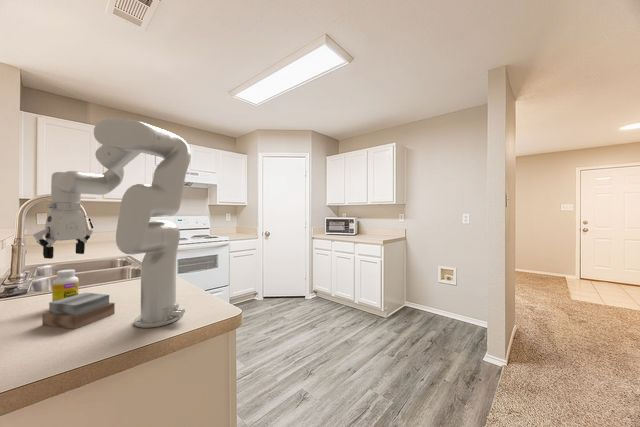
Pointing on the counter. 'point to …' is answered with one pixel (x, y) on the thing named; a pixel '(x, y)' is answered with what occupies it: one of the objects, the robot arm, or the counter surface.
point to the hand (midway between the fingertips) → (65, 255)
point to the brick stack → (78, 310)
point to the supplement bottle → (65, 285)
